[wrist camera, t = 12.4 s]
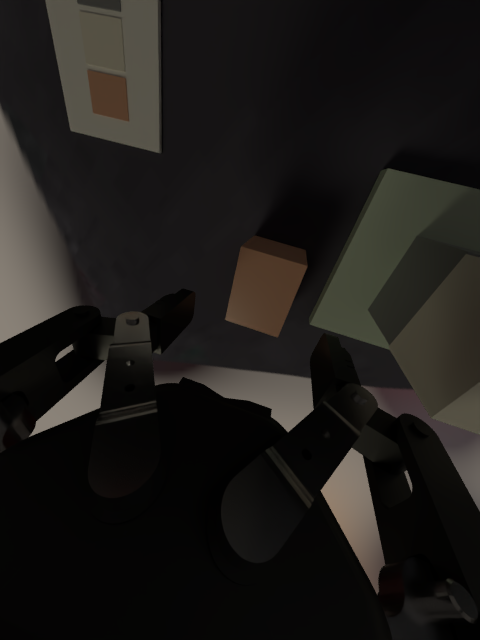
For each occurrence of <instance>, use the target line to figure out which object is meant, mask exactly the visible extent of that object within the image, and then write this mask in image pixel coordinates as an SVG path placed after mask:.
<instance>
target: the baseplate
mask: <svg viewBox="0 0 480 640" xmlns="http://www.w3.org/2000/svg"><path fill="white" fill-rule="evenodd" d="M466 254H468V255H472V256H476V257H480V190H479V189H475V188H471V187H466V186H462V185H458V184H453V183H449V182H445V181H440V180H436V179H432V178H428V177H423V176H419V175H415V174H410V173H406V172H402V171H397V170H393V169H389V168H387V169H384V170H382V171H381V172H380V174H379V176H378V178H377V180H376V182H375V184H374V186H373V188H372V191H371V193H370V195H369V197H368V199H367V201H366V203H365V205H364V207H363V209H362V211H361V213H360V215H359V217H358V219H357V221H356V223H355V225H354V227H353V229H352V231H351V234H350V236H349V238H348V240H347V242H346V244H345V246H344V248H343V250H342V252H341V254H340V256H339V258H338V260H337V262H336V264H335V266H334V268H333V270H332V272H331V274H330V277H329V279H328V281H327V283H326V285H325V287H324V289H323V291H322V293H321V295H320V297H319V299H318V301H317V303H316V305H315V307H314V309H313V311H312V313H311V315H310V317H309V322H310V325H313V326H316V327H320V328H323V329H326V330H329V331H332V332H335V333H339V334H342V335H345V336H348V337H351V338H354V339H358V340H361V341H364V342H367V343H370V344H373V345H377V346H380V347H383V348H386V349H389V345H390V344H391V343H392V342H393V341H394V339H395V338H396V337H397V336H398V335H399V333H400V332H401V331H402V330H403V329H404V327H405V326H406V325H407V324H408V323H409V321H410V320H411V319H412V318H413V317H414V316H415V314H416V313H417V312H418V311H419V310H420V308H421V307H422V306H423V305H424V304H425V302H426V301H427V300H428V299H429V298H430V296H431V295H432V294H433V293H434V292H435V290H436V289H437V288H438V287H439V286H440V284H441V283H442V282H443V281H444V280H445V278H446V277H447V276H448V275H449V274H450V272H451V271H452V270H453V269H454V268H455V266H456V265H457V264H458V263H459V262H460V260H461V259H462V258H463V257H464V256H465V255H466ZM389 350H390V349H389Z"/></svg>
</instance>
